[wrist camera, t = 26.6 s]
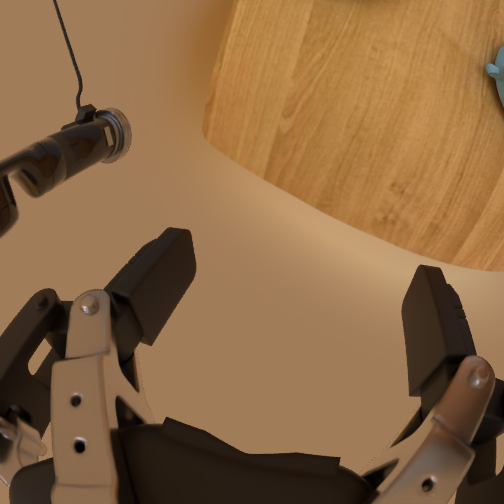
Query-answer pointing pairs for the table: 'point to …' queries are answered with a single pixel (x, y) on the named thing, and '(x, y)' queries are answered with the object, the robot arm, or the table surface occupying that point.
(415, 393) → the robot arm
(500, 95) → the teapot
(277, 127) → the table surface
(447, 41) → the table surface
